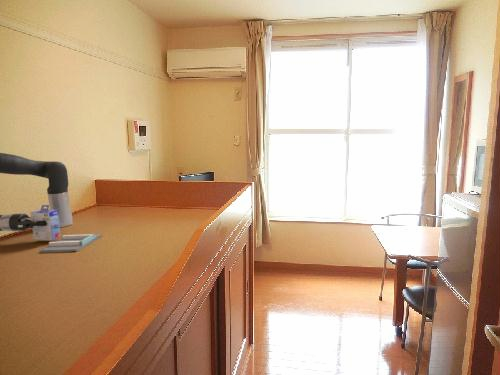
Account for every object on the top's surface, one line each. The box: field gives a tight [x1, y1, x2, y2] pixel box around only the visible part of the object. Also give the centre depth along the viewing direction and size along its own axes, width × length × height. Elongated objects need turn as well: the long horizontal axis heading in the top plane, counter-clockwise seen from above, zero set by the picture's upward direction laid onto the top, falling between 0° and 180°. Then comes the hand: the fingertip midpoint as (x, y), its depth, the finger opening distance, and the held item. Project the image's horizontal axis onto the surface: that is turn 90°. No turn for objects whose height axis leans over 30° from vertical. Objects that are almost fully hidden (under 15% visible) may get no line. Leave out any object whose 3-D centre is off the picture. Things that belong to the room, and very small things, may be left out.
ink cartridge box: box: [29, 204, 62, 241], centre depth 152 cm, size 10×6×14 cm, turn 79°
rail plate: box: [39, 233, 103, 254], centre depth 147 cm, size 20×15×2 cm
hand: (50, 221), depth 152 cm, fingers closed on ink cartridge box, 6 cm apart
